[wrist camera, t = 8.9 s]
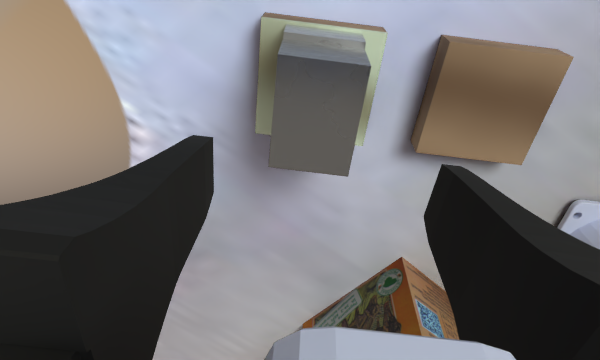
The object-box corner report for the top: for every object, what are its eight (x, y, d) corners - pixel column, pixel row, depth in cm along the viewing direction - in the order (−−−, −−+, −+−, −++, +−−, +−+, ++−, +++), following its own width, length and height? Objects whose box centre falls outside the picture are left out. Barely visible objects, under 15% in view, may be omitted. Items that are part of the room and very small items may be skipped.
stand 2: (510, 152, 23) (521, 165, 22) (410, 140, 23) (415, 152, 22) (557, 49, 20) (573, 57, 18) (441, 34, 20) (450, 41, 18)
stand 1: (360, 134, 23) (362, 146, 21) (258, 122, 23) (255, 133, 21) (383, 27, 20) (387, 33, 18) (264, 12, 19) (261, 17, 18)
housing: (341, 139, 21) (346, 182, 18) (277, 131, 21) (267, 172, 17) (362, 33, 18) (373, 58, 15) (286, 23, 18) (278, 45, 15)
